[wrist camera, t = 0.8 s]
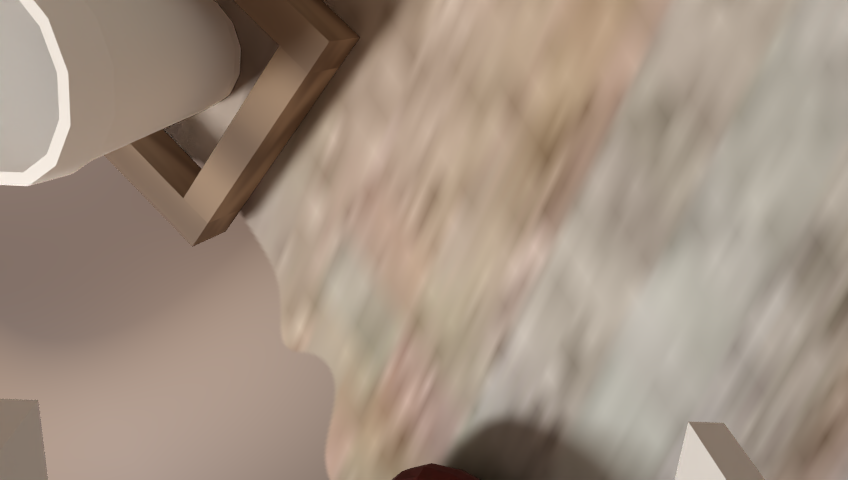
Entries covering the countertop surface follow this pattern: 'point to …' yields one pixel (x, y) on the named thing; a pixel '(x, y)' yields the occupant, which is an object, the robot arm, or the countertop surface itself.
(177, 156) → the brown flat square frame
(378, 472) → the countertop surface
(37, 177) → the foam cup
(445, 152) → the countertop surface
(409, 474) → the potato
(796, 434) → the countertop surface
